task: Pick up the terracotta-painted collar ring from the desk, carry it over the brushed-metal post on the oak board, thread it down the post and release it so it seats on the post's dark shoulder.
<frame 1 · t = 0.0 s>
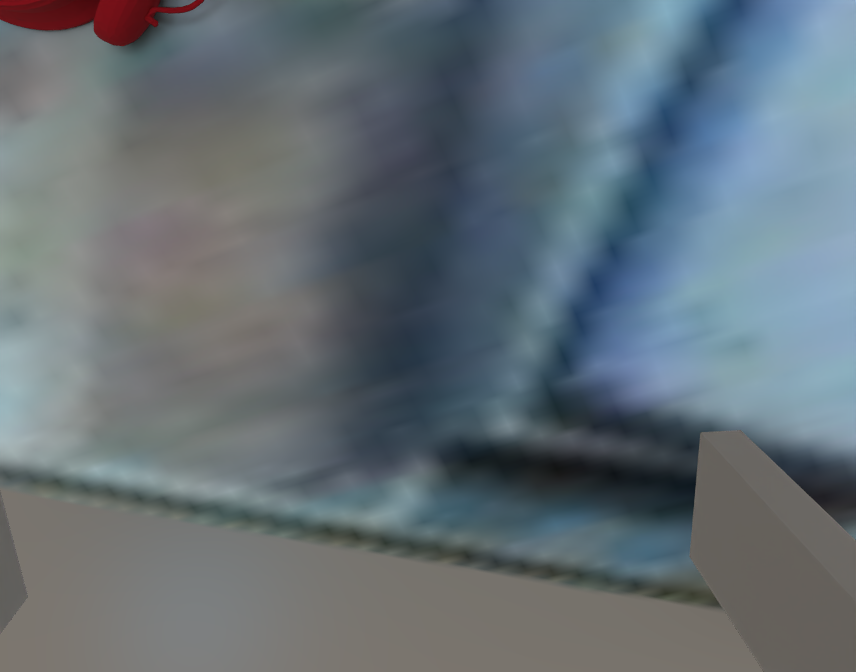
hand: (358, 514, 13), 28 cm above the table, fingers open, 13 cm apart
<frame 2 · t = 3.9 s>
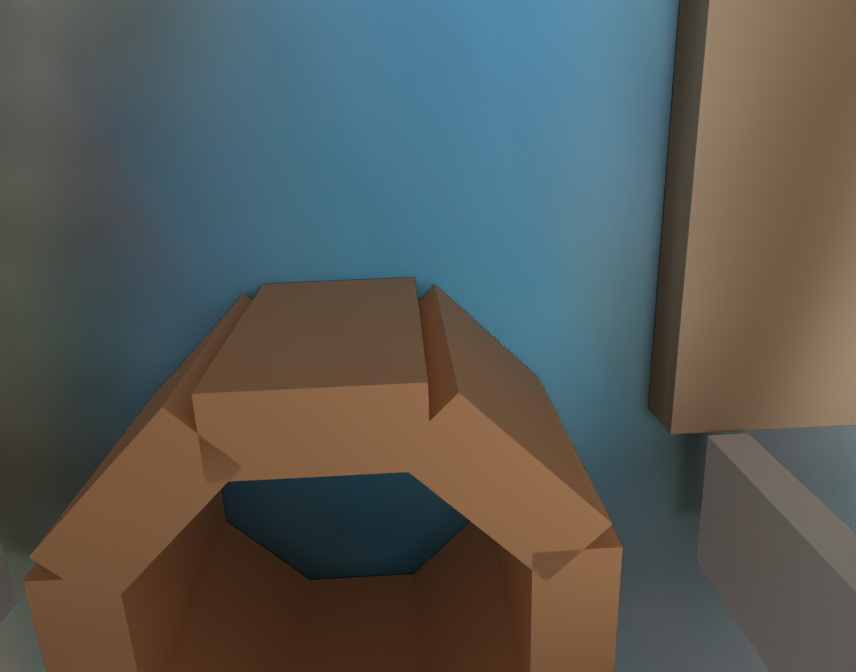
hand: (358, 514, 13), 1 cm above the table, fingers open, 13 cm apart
ring: (353, 466, 14), on the table
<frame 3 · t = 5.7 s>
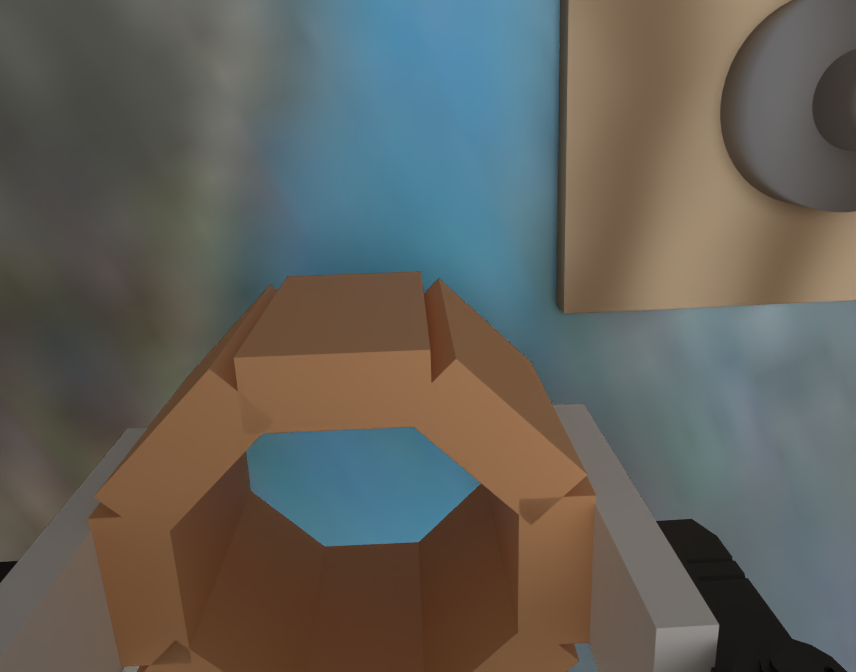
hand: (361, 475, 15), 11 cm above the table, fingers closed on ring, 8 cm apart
ring: (365, 442, 16), point 10 cm above the table, touching gripper
post board: (801, 101, 23), on the table
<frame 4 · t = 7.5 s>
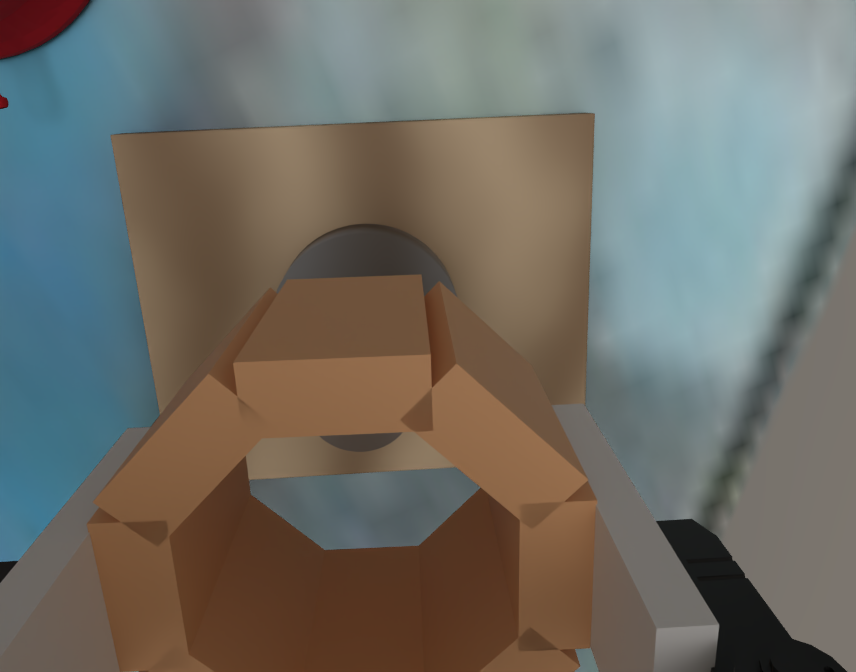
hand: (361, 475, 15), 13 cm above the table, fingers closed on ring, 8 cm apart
ring: (365, 445, 16), point 11 cm above the table, touching gripper
post board: (369, 303, 27), on the table
when the fingers open (3 cm above the table, at t = 9.5 s): ring stays where it is, resting on post board.
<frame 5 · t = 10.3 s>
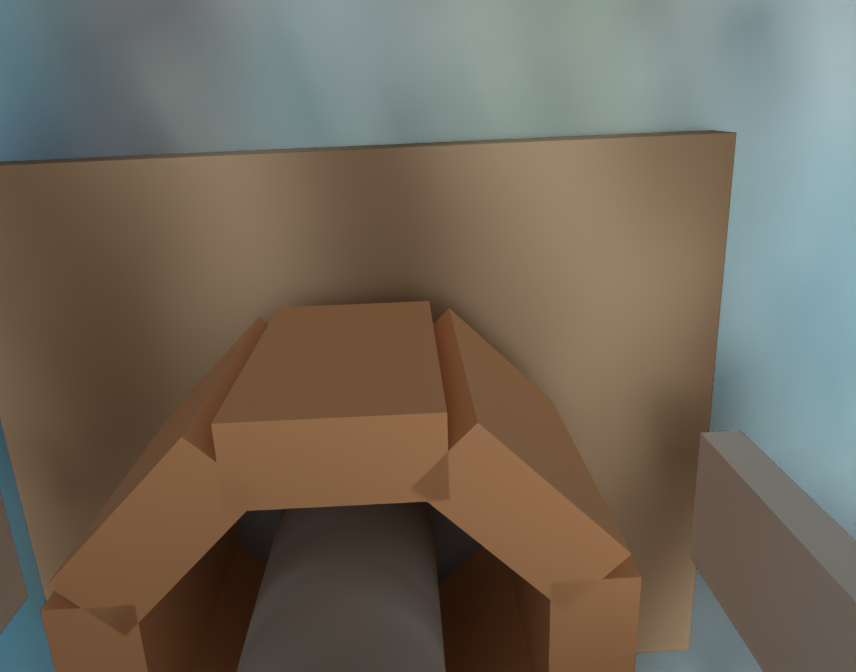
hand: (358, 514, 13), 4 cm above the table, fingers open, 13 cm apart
ring: (366, 489, 14), point 3 cm above the table, touching post board
post board: (366, 420, 17), on the table
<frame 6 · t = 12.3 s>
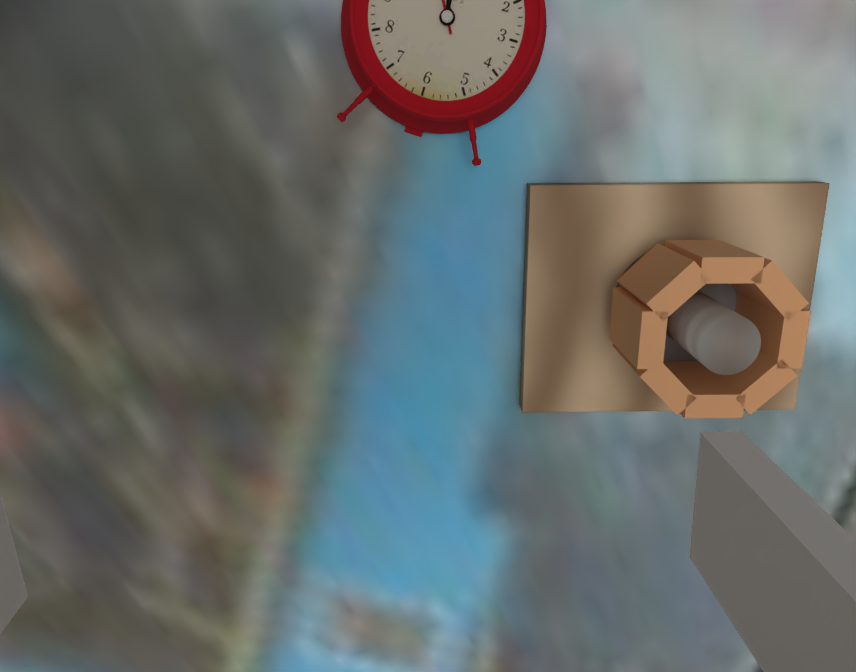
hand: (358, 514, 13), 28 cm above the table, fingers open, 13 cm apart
ring: (684, 312, 38), point 3 cm above the table, touching post board
post board: (662, 297, 41), on the table
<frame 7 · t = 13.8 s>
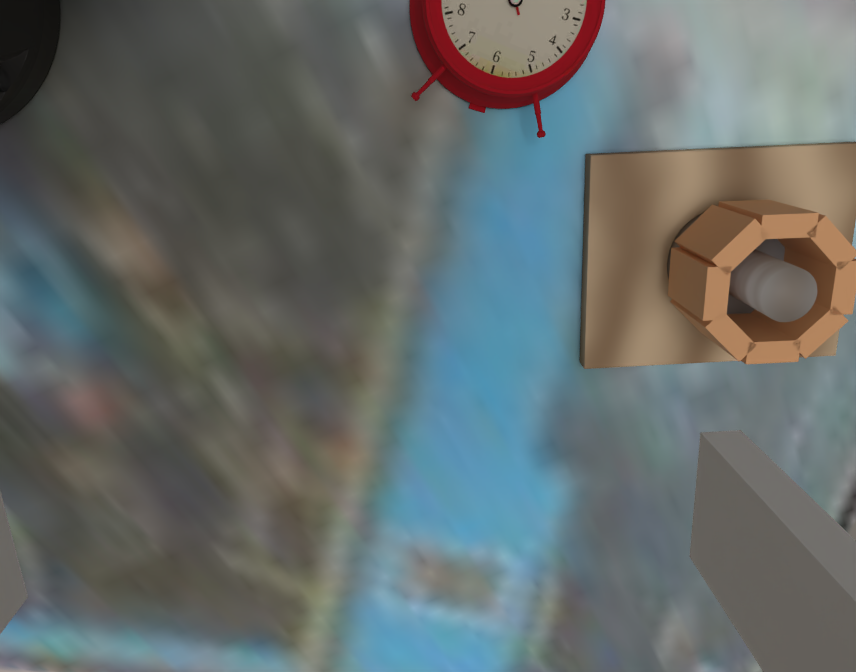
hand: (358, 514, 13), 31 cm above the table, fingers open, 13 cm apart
ring: (736, 268, 41), point 3 cm above the table, touching post board
post board: (711, 256, 44), on the table
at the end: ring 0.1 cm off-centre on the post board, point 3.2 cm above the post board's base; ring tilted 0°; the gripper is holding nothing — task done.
